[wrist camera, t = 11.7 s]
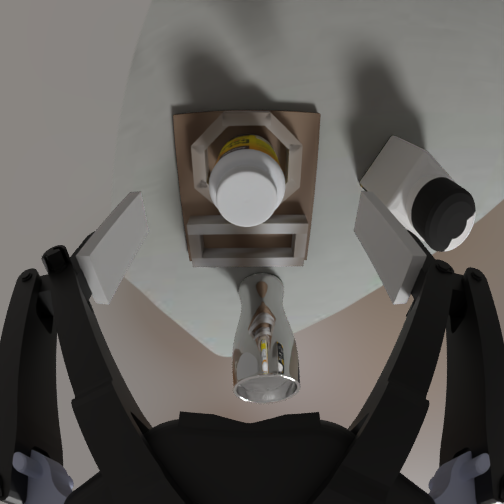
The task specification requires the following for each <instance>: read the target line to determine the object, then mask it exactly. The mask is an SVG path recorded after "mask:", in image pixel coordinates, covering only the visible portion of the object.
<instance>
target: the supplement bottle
mask: <svg viewBox="0 0 504 504" xmlns="http://www.w3.org/2000/svg"><path fill="white" fill-rule="evenodd" d="M209 192H210V196H211V199H212V201H213V203H214V204H215V206H216V207H217V208H218V210H219V212H220V213H221V215H222V216H223V217H224V218H225V219H226V220H227V221H229V222H230V223H232V224H235V225H237V226H242V227H251V226H256V225H259V224H261V223H263V222H265V221H266V220H267V219H269V218H270V216H271V215H272V214H273V213H274V211H275V210H276V209H277V208H278V206H279V205H280V203H281V201H282V199H283V197H284V193H285V178H284V174H283V171H282V169H281V166H280V164H279V161H278V158H277V156H276V153H275V151H274V149H273V147H272V146H271V144H270V143H269V142H268V141H267V140H265V139H264V138H262V137H260V136H258V135H254V134H241V135H238V136H235V137H233V138H232V139H230V140H229V141H228V142H227V143H226V144H225V145H224V146H223V148H222V150H221V152H220V154H219V156H218V158H217V161H216V163H215V165H214V167H213V170H212V172H211V175H210V179H209Z"/></svg>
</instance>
